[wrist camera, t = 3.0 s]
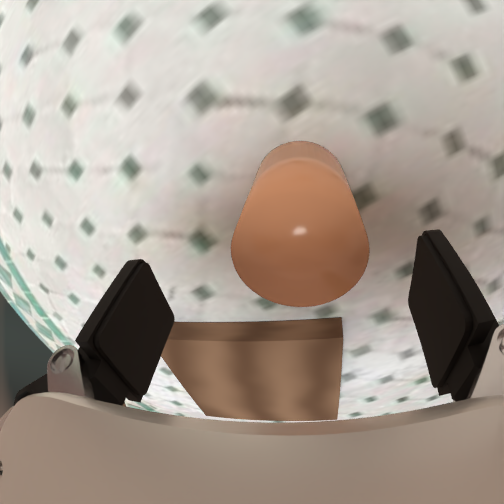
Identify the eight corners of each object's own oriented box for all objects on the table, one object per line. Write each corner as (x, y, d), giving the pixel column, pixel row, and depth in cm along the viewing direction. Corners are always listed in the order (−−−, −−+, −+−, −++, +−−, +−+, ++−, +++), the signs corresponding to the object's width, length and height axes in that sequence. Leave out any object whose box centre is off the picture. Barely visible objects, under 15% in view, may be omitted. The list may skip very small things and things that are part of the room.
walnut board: (341, 317, 21) (343, 337, 20) (337, 404, 30) (337, 419, 29) (157, 321, 25) (149, 338, 24) (209, 402, 34) (206, 415, 32)
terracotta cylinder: (340, 136, 14) (369, 185, 8) (347, 218, 17) (366, 302, 11) (248, 147, 15) (215, 202, 10) (265, 226, 18) (247, 309, 12)
